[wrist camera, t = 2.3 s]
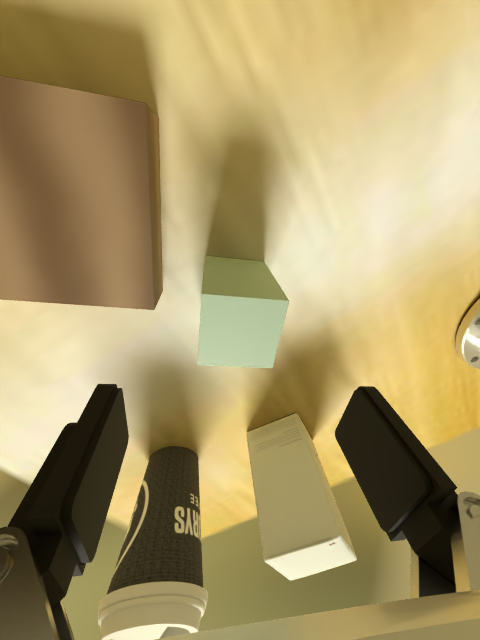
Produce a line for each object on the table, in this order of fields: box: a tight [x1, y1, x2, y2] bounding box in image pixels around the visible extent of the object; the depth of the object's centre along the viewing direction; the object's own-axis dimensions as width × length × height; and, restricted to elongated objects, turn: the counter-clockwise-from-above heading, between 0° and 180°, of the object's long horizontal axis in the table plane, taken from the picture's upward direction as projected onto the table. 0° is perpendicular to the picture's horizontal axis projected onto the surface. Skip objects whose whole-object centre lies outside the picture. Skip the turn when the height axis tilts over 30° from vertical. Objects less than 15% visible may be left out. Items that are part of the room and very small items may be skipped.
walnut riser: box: [0, 76, 163, 310], centre depth 16 cm, size 12×12×4 cm
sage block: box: [197, 256, 289, 368], centre depth 18 cm, size 5×5×8 cm
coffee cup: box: [98, 447, 208, 640], centre depth 27 cm, size 10×10×15 cm
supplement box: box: [247, 413, 357, 580], centre depth 28 cm, size 7×7×13 cm
